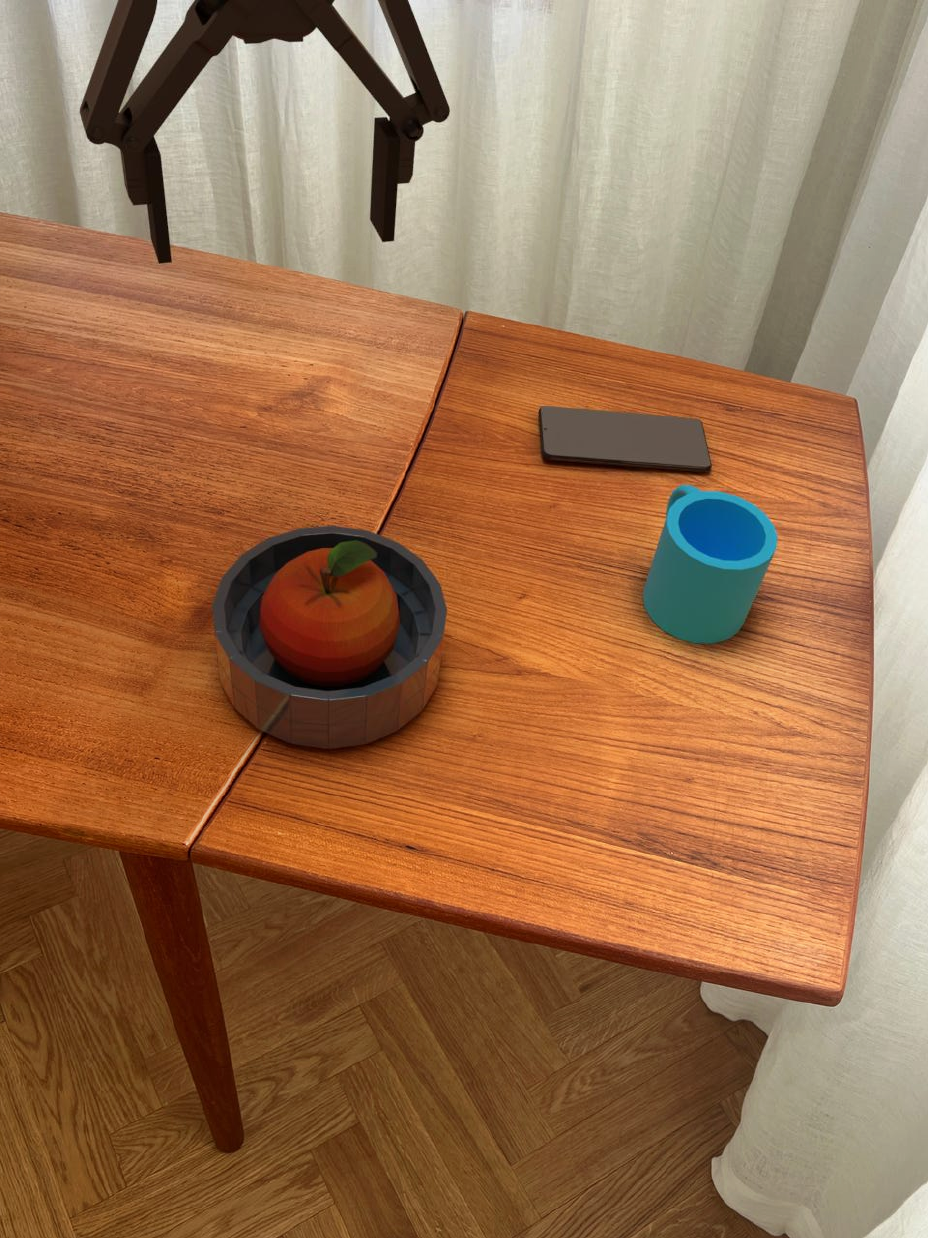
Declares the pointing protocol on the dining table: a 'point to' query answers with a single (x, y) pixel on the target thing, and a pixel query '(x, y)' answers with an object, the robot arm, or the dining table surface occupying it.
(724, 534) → the mug
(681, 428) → the smartphone
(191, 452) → the dining table surface
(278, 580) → the fruit
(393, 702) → the bowl
